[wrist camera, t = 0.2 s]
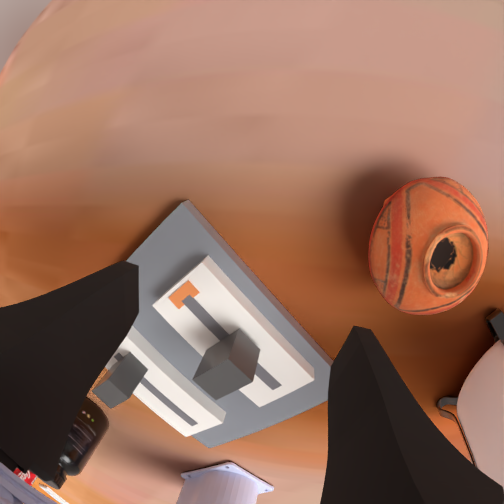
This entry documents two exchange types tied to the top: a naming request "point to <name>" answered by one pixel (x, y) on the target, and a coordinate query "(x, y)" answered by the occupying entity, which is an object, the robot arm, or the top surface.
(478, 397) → the coffee press
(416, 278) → the pot
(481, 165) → the top surface
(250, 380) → the gray slider knob
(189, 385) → the grey slider panel
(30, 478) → the soda can
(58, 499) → the external hard drive
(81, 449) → the supplement bottle
